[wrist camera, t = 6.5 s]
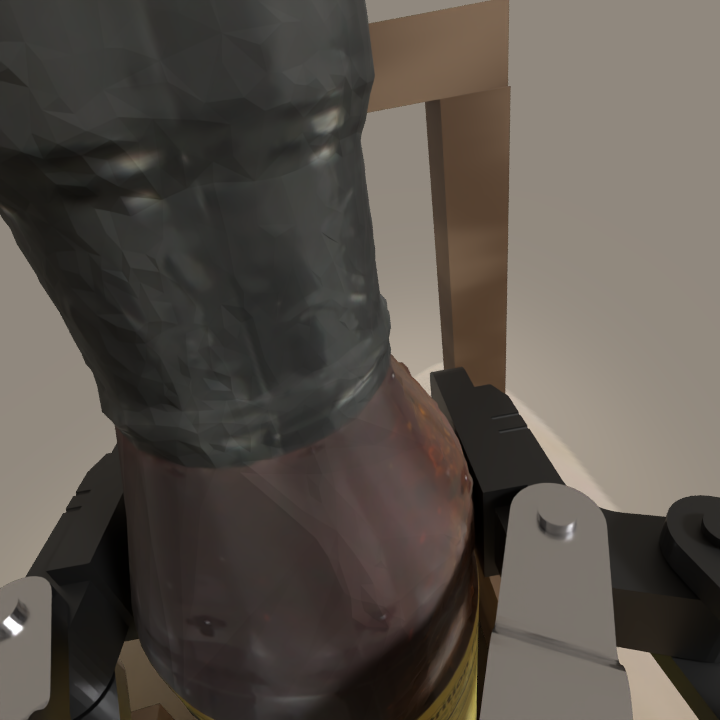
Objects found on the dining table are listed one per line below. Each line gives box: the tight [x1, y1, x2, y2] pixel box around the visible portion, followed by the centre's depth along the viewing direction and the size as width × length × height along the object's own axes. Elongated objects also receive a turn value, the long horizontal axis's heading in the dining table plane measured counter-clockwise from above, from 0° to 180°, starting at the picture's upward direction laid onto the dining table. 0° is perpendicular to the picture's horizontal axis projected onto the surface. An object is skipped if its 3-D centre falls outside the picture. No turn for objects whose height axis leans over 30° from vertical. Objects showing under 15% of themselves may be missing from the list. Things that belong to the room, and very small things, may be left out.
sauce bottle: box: [0, 0, 479, 720], centre depth 9 cm, size 6×6×20 cm
